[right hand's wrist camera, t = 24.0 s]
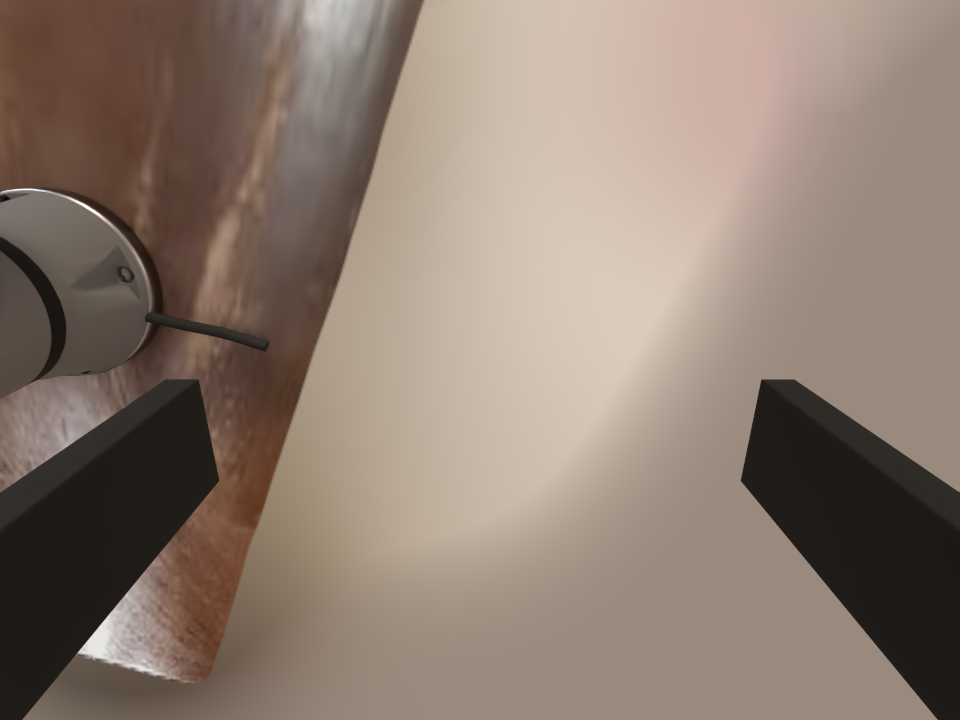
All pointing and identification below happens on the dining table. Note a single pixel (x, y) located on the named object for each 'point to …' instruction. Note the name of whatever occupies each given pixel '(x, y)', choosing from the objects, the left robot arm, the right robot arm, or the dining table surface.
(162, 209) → the dining table surface
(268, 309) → the dining table surface
